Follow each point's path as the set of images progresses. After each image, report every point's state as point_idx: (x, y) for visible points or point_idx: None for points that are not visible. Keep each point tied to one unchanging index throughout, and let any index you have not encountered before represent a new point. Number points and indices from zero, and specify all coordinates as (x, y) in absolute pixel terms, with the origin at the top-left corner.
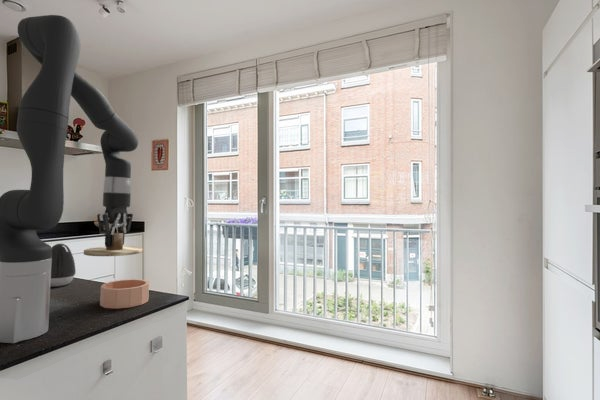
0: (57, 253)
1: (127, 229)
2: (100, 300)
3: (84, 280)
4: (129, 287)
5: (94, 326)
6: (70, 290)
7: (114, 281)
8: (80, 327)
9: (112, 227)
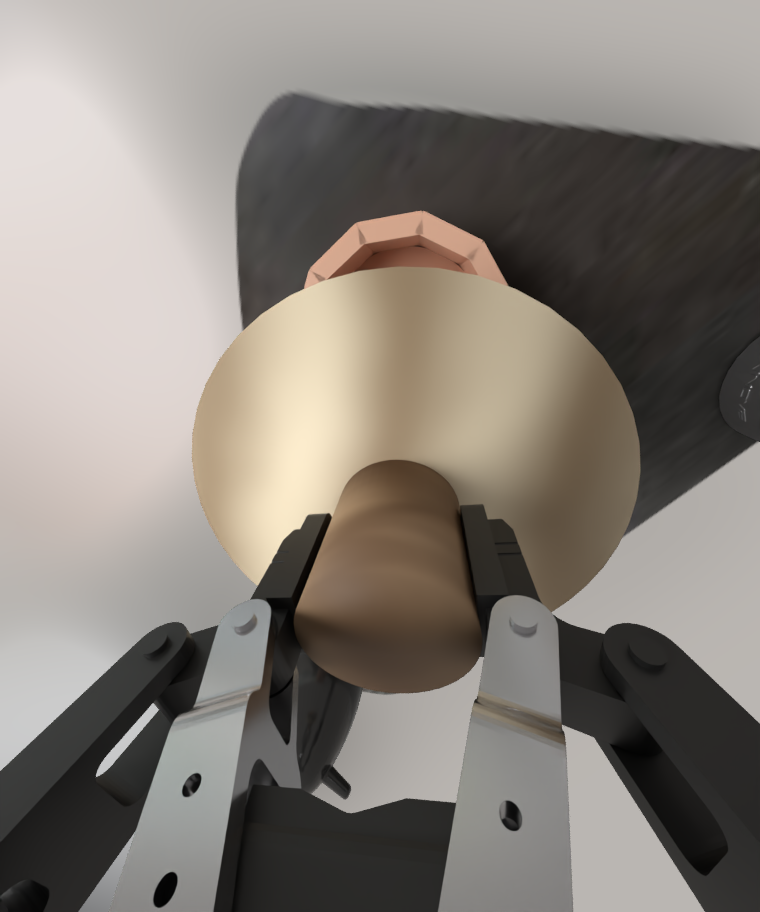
0: (325, 745)
1: (181, 646)
2: None
3: None
4: None
5: (729, 189)
6: None
7: None
8: (736, 241)
9: (560, 723)
